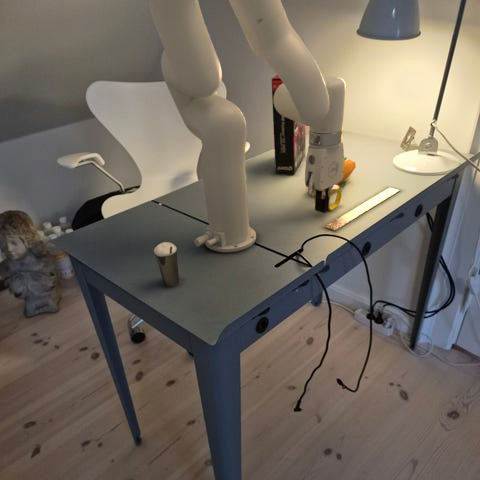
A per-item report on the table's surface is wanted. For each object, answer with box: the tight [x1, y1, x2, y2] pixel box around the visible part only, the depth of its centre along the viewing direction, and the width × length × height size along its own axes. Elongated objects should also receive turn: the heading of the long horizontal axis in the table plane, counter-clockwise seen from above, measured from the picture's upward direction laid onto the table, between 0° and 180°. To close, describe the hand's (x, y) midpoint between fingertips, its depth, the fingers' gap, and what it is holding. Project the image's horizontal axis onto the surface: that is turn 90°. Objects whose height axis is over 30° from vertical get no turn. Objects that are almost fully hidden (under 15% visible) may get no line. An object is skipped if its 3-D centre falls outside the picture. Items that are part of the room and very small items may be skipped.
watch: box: [328, 185, 342, 211], centre depth 118 cm, size 6×3×6 cm, turn 137°
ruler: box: [324, 187, 401, 232], centre depth 118 cm, size 30×3×1 cm, turn 135°
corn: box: [335, 156, 357, 188], centre depth 129 cm, size 7×8×20 cm
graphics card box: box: [271, 74, 306, 175], centre depth 138 cm, size 17×7×27 cm, turn 162°
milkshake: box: [153, 241, 180, 288], centre depth 93 cm, size 4×5×10 cm
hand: (321, 210), depth 116 cm, fingers closed
